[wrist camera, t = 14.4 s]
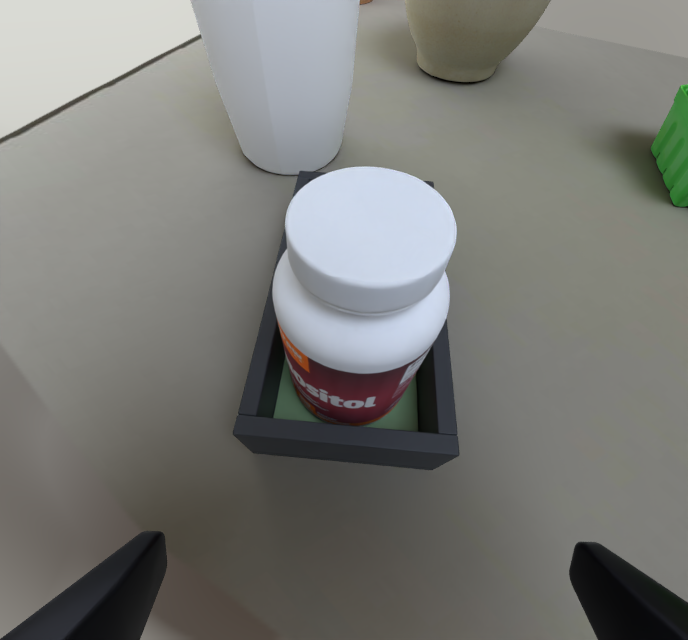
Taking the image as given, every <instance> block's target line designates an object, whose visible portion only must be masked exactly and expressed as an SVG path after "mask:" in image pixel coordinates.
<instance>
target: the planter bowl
mask: <svg viewBox="0 0 688 640" xmlns="http://www.w3.org/2000/svg"><path fill="white" fill-rule="evenodd" d="M549 2H550V0H405V5H406V12H407V18H408V23H409V27H410V31H411V34H412V37H413V40H414V42H415V45H416V47H417V63H418V65H419V67H420V68H421V69H423V70H424V71H425V72H427V73H428V74H430V75H431V76H435V77H438V78H441V79H445V80H450V81H457V82H476V81H481V80H484V79H487V78H489V77H490V76H491V75H492V74H493V73H494V72H495V70H496V68H497V66H498V64H499V62H501V61H502V60H503V59H504V58H505V57H507V56H508V55H509V54H510V53H511V52H512V51H513V50H514V49H515V48H516V47H517V46H518V45H519V44H520V43H521V42H522V40H523V39H524V38H525V37H526V36H527V35H528V33H529V32H530V31H531V29H532V28H533V27H534V26H535V24H536V23H537V22H538V20H539V19H540V17H541V15H542V14H543V13H544V11H545V9H546V8H547V6H548V4H549Z"/></svg>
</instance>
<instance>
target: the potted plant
mask: <svg viewBox="0 0 688 640" xmlns="http://www.w3.org/2000/svg"><path fill="white" fill-rule="evenodd" d="M371 1H372V0H360V4H365V3H368V2H371Z"/></svg>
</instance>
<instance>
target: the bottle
mask: <svg viewBox="0 0 688 640" xmlns="http://www.w3.org/2000/svg"><path fill="white" fill-rule="evenodd" d="M191 3H192V7H193V10H194V13H195V17H196V20H197V23H198V27H199V30H200V33H201V36H202V40H203V43H204V46H205V50H206V53H207V56H208V60H209V63H210V66H211V70H212V73H213V76H214V79H215V83H216V85H217V88H218V91H219V93H220V96H221V98H222V101H223V103H224V106H225V108H226V111H227V114H228V116H229V119H230V121H231V124H232V126H233V129H234V131H235V134H236V136H237V139H238V141H239V144H240V146H241V149H242V151H243V154H244V155H245V156H246V157H247V158H248V159H249V160H251V161H252V162H253V163H254V164H255V165H256V166H257V167H259V168H262V169H264V170H266V171H268V172H272V173H277V174H282V175H298V174H299V171H310V172H313V171H316V170H318V169H320V168H322V167H324V166H326V165H327V164H328V163H329V162H330V161H331V160H333V158H334V157H335V156H336V155H337V153H338V151H339V149H340V147H341V143H342V138H343V132H344V127H345V121H346V116H347V110H348V105H349V99H350V94H351V88H352V81H353V70H354V59H355V48H356V37H357V26H358V15H359V4H360V0H191Z"/></svg>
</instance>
